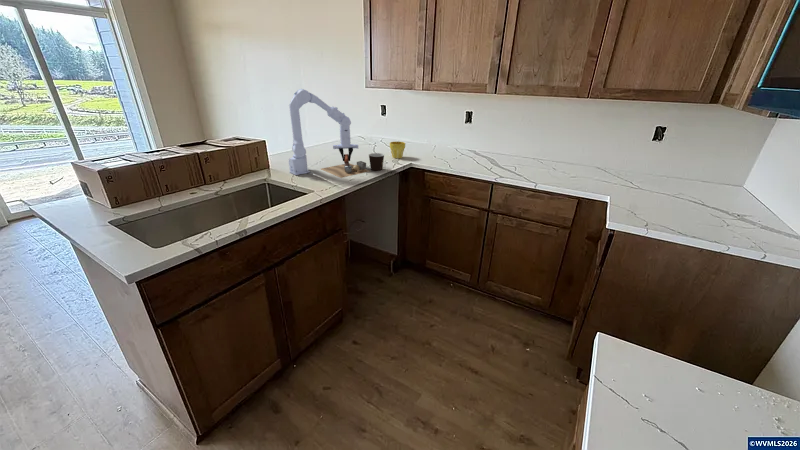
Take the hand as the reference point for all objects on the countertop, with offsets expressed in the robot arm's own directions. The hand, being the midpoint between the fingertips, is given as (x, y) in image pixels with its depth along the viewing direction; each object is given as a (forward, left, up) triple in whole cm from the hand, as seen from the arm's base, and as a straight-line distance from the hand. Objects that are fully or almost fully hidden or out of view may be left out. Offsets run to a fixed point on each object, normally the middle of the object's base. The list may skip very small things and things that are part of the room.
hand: (346, 160), depth 197 cm
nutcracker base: (-6, -7, -4) cm, 10 cm away
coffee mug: (+10, -17, -4) cm, 21 cm away
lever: (-4, -7, -3) cm, 8 cm away
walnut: (-3, -13, -3) cm, 14 cm away
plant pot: (+41, +1, -4) cm, 41 cm away
